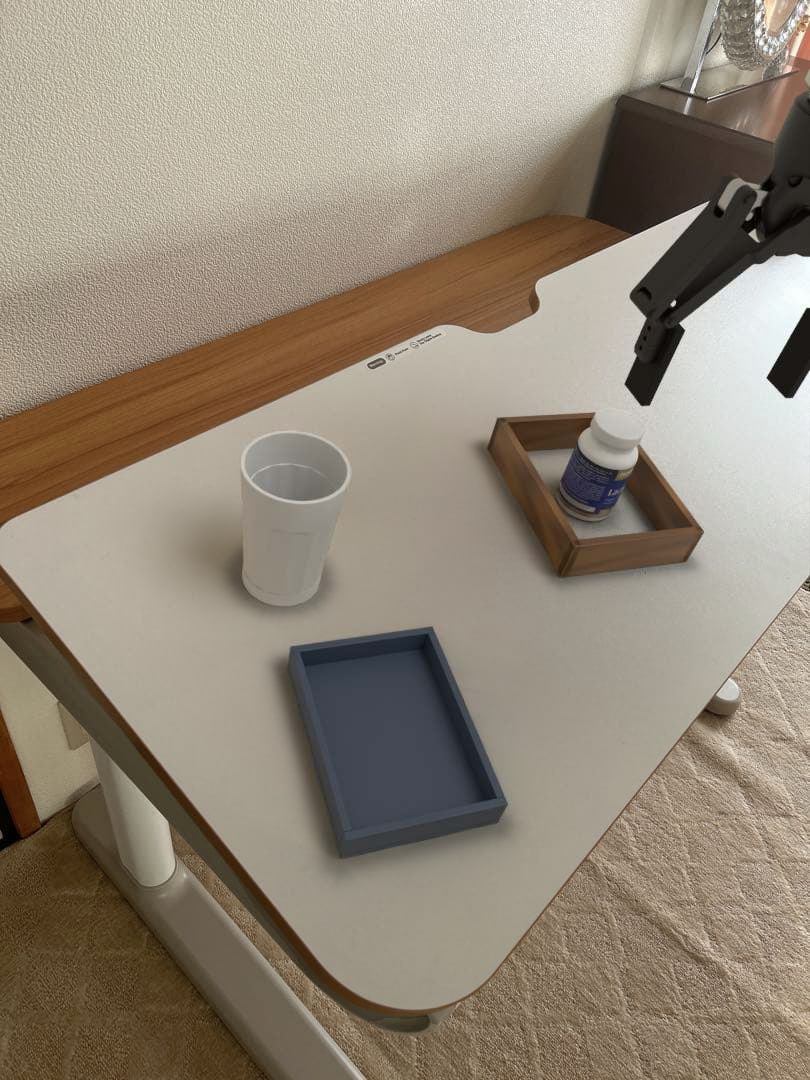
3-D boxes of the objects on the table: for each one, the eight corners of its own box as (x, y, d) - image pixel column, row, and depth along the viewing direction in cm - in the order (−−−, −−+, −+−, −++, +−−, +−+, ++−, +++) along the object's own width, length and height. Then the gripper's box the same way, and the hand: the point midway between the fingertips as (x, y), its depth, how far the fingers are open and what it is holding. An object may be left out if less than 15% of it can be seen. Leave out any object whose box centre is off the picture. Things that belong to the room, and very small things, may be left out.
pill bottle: (605, 532, 83) (645, 451, 77) (548, 509, 84) (582, 427, 77) (616, 496, 88) (654, 417, 81) (561, 475, 88) (595, 395, 81)
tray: (498, 822, 60) (508, 804, 58) (340, 859, 56) (346, 840, 54) (425, 646, 70) (432, 625, 68) (286, 667, 66) (290, 646, 64)
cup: (265, 527, 75) (278, 416, 67) (347, 568, 74) (370, 459, 66) (211, 585, 70) (217, 471, 62) (298, 630, 68) (316, 520, 60)
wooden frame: (686, 561, 83) (704, 531, 80) (560, 578, 78) (574, 546, 75) (602, 440, 94) (615, 410, 91) (486, 448, 89) (497, 417, 86)
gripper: (962, 99, 61) (806, 358, 75) (658, 67, 52) (549, 367, 67) (1046, 146, 56) (862, 413, 71) (727, 120, 47) (594, 430, 62)
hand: (710, 391), depth 69 cm, fingers open, 13 cm apart
